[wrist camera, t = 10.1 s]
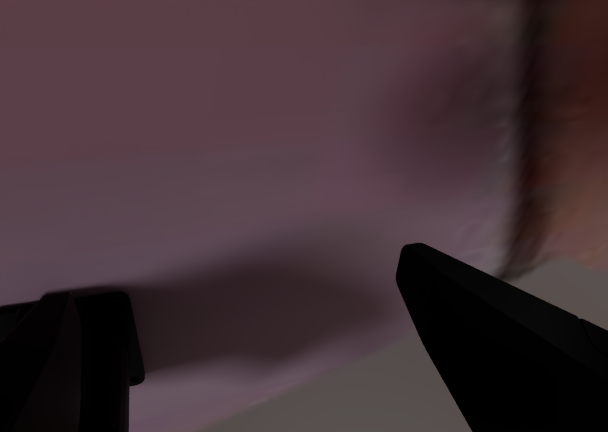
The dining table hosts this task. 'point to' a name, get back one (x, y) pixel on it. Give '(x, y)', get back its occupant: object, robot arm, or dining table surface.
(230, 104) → the dining table surface
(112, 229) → the dining table surface
